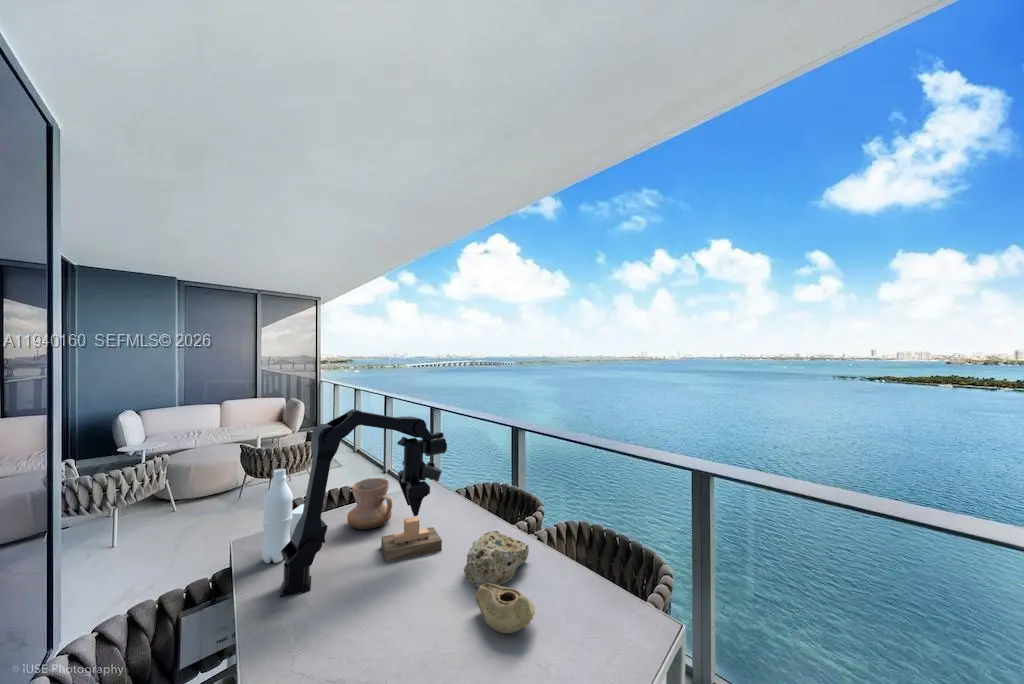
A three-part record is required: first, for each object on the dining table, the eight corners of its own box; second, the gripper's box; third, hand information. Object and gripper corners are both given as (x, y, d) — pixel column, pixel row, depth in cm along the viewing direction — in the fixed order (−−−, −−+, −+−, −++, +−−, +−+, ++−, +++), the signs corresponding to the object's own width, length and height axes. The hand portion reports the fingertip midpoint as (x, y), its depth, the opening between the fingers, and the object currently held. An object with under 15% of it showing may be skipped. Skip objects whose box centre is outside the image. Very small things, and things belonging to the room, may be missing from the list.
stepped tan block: (428, 547, 117) (429, 518, 117) (394, 554, 112) (395, 524, 113) (426, 542, 119) (426, 515, 120) (393, 549, 115) (394, 520, 115)
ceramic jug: (335, 526, 131) (336, 484, 131) (368, 511, 143) (370, 473, 144) (372, 539, 122) (374, 494, 123) (404, 522, 135) (406, 481, 135)
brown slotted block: (441, 550, 115) (441, 539, 115) (386, 561, 108) (386, 551, 108) (433, 536, 124) (433, 526, 124) (381, 546, 117) (381, 536, 117)
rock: (485, 551, 116) (493, 519, 117) (528, 573, 111) (537, 539, 111) (450, 579, 98) (461, 540, 98) (500, 607, 92) (511, 565, 92)
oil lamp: (487, 598, 92) (488, 564, 92) (544, 620, 84) (544, 583, 84) (459, 625, 82) (459, 587, 83) (520, 652, 75) (520, 610, 75)
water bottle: (276, 567, 105) (280, 474, 106) (254, 564, 106) (258, 472, 107) (296, 554, 112) (299, 467, 113) (275, 551, 113) (278, 466, 114)
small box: (303, 549, 115) (304, 513, 115) (284, 549, 115) (286, 513, 115) (317, 537, 123) (318, 503, 123) (300, 537, 123) (301, 503, 123)
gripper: (447, 462, 113) (447, 517, 112) (431, 449, 129) (430, 496, 128) (409, 467, 108) (408, 524, 107) (397, 453, 124) (396, 501, 124)
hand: (412, 510), depth 117 cm, fingers open, 9 cm apart
